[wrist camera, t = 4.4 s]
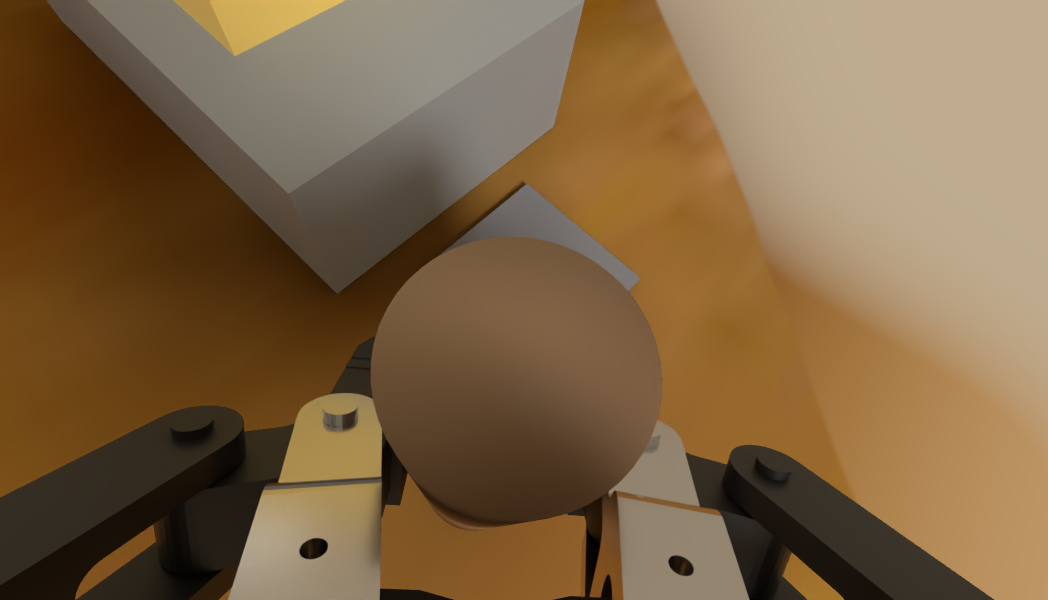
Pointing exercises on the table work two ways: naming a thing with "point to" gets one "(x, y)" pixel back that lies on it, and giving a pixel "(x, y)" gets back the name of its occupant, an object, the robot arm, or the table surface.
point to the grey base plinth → (341, 103)
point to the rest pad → (544, 231)
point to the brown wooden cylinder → (515, 381)
